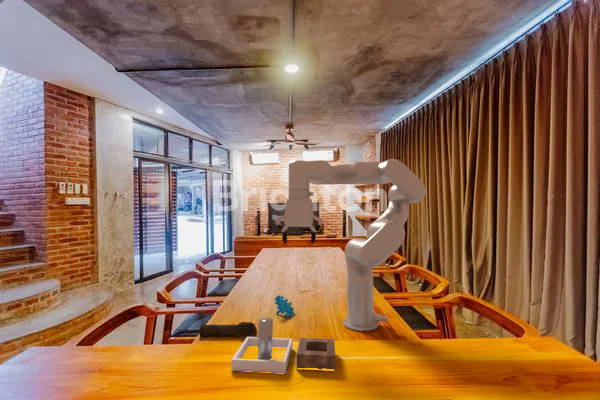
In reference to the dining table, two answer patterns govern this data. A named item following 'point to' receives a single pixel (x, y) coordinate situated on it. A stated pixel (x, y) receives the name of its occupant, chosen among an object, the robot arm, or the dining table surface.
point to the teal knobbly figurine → (284, 306)
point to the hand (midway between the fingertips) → (298, 243)
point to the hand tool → (229, 330)
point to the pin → (265, 338)
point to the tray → (262, 365)
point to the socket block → (316, 353)
